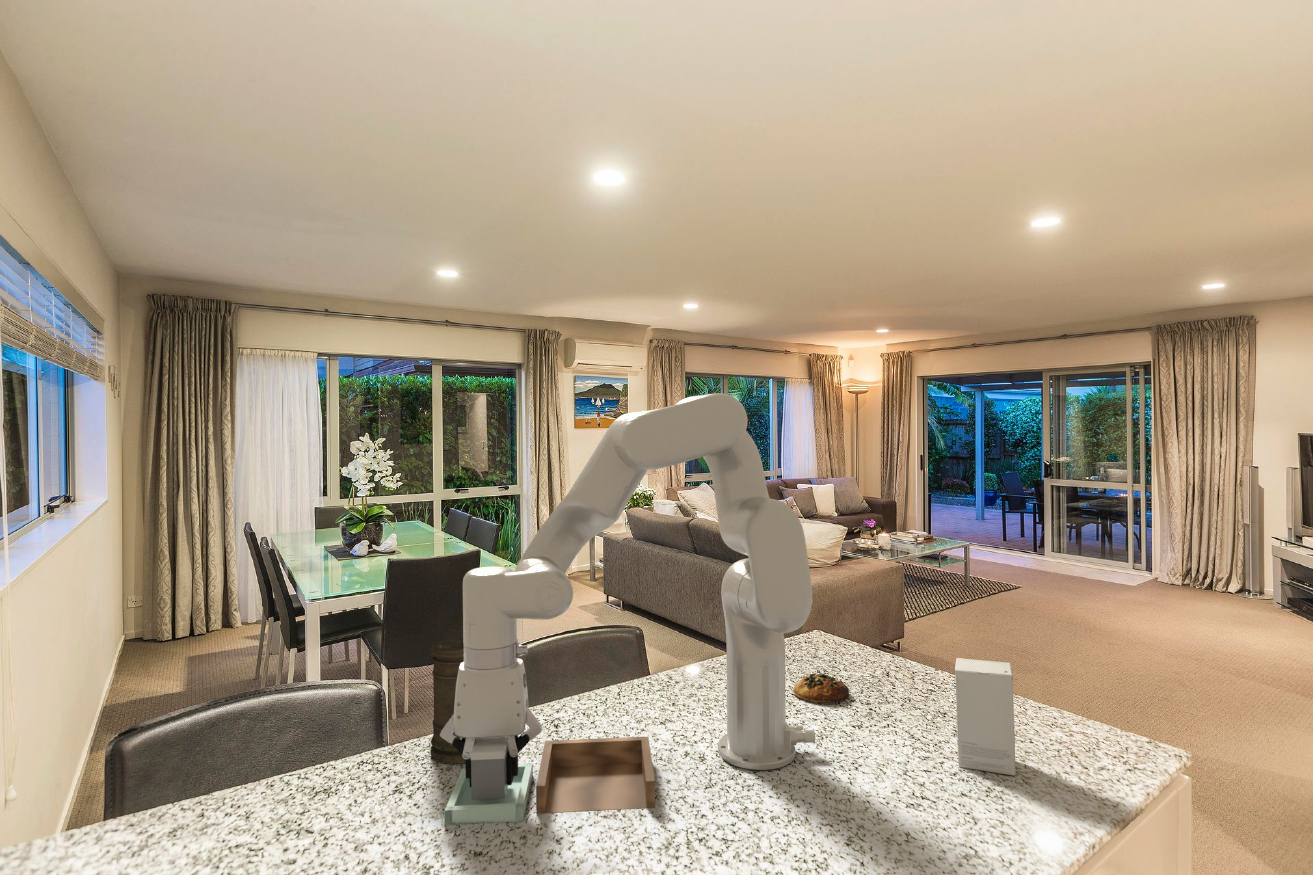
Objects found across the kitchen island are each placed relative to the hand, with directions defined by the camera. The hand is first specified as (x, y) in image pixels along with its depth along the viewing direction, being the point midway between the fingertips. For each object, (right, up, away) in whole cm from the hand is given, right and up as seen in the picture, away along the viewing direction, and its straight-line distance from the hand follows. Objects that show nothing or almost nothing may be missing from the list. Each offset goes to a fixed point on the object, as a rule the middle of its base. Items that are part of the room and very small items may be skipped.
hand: (492, 780), depth 99 cm
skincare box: (+75, -2, +10) cm, 76 cm away
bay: (+15, -3, +3) cm, 15 cm away
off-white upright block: (0, -1, 0) cm, 1 cm away
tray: (0, -3, 0) cm, 3 cm away
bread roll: (+56, -3, +39) cm, 69 cm away
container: (-9, -3, +15) cm, 18 cm away
